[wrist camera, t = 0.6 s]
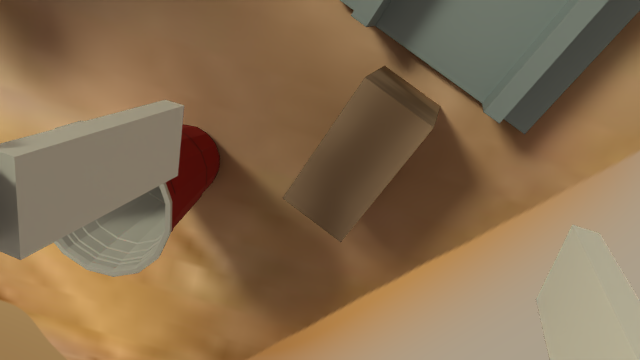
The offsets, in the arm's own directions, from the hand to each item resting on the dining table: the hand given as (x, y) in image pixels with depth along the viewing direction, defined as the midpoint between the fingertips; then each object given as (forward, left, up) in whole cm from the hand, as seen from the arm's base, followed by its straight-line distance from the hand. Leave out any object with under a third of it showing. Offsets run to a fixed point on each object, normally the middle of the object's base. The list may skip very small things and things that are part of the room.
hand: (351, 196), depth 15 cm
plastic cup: (-13, -15, -20) cm, 29 cm away
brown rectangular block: (-1, -4, -20) cm, 21 cm away
